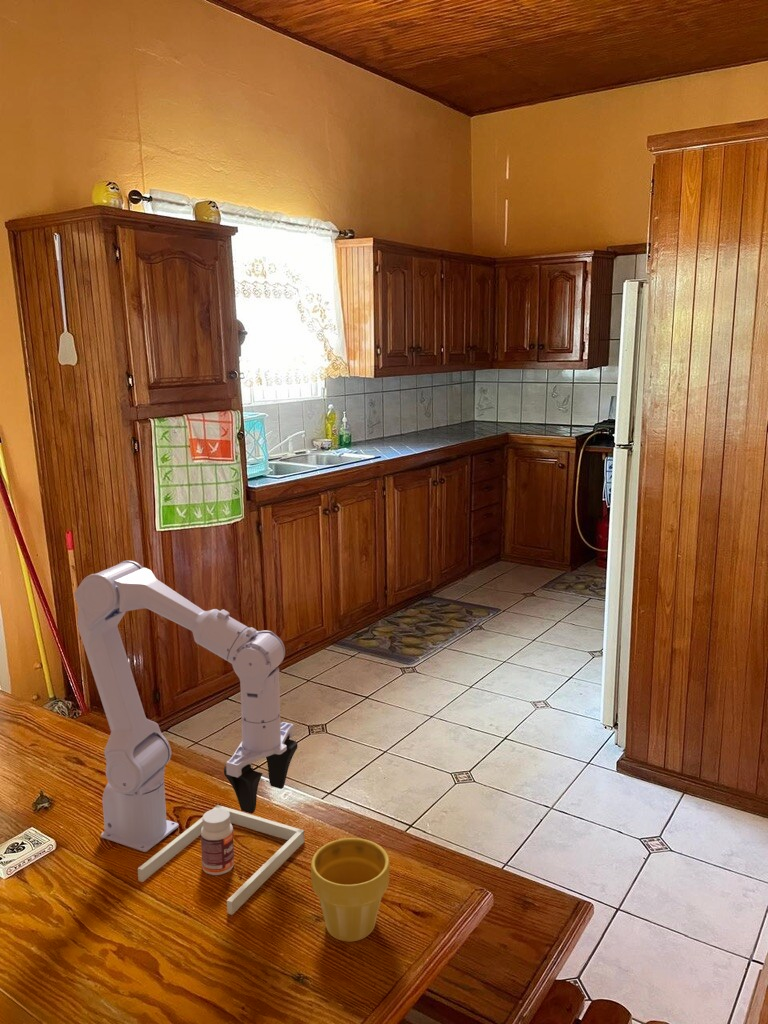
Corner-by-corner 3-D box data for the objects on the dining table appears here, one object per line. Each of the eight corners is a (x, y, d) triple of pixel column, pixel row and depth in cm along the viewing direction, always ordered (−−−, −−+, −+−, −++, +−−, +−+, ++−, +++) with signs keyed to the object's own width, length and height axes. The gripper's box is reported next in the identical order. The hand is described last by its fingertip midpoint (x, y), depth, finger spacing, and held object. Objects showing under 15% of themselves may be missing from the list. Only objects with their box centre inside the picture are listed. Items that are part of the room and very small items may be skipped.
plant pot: (380, 958, 101) (380, 890, 99) (302, 947, 103) (301, 879, 102) (395, 905, 111) (395, 841, 109) (324, 895, 113) (323, 832, 112)
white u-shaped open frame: (138, 880, 117) (137, 868, 116) (218, 815, 133) (217, 804, 133) (232, 915, 109) (231, 902, 109) (304, 841, 126) (304, 830, 125)
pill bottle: (231, 876, 118) (228, 824, 116) (198, 876, 118) (196, 824, 116) (237, 856, 122) (235, 806, 121) (206, 856, 122) (204, 806, 121)
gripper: (254, 741, 110) (256, 830, 113) (309, 701, 123) (310, 782, 125) (213, 730, 113) (216, 817, 116) (271, 692, 126) (273, 772, 128)
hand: (262, 798), depth 121 cm, fingers open, 7 cm apart
